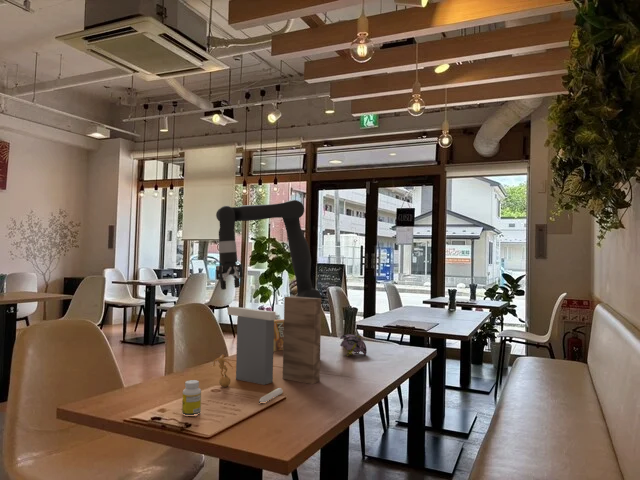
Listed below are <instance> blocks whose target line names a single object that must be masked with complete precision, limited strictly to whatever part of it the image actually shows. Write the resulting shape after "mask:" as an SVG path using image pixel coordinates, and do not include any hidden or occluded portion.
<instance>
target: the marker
mask: <svg viewBox="0 0 640 480" xmlns="http://www.w3.org/2000/svg"><path fill="white" fill-rule="evenodd" d="M282 393H284V390H283V389H282V387H278V388H276V389H274V390H272V391H271V392H269V393H266V394H265V395H263V396H261V397H260V398H259V400H258V403H260V402H266V401H268V400H270V399H272V398H273V397H275V398H277V397H278V395H279V396H280V395H281V394H282ZM276 396H277V397H276ZM273 399H274V398H273ZM273 399H272V400H273ZM270 401H271V400H270ZM268 402H269V401H268Z"/></svg>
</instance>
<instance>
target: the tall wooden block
mask: <svg viewBox="0 0 640 480" xmlns="http://www.w3.org/2000/svg"><path fill="white" fill-rule="evenodd" d="M321 300H322V297H321V298H309V297H298V296H295V295H291V296H284V303H283V304H284V306H283V312H284V313H283V319H284V341H283V350H282V379H283V380H287V381H288V380H289V381H294V382H300V383H305V384H309V385H311V384H312V385H314V384H317V383H319V382H320V380H321V379H320V378H321V376H320V371H321V339H322V338H321V336H322V335H321V333H322V332H321V331H322V329H321V328H322V327H321V326H322V325H321V324H322V301H321ZM316 382H317V383H316Z"/></svg>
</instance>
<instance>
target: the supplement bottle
mask: <svg viewBox="0 0 640 480" xmlns="http://www.w3.org/2000/svg"><path fill="white" fill-rule="evenodd" d="M199 382H200V381H199V380H196V379H193V380H191V379H190V380H186V381H185V382H184V385H185V386H184V387H185V388H184V389H183V390H182V403H181V404H182V405H181V406H182V407H181V408H182V409H181V411H182V412H181V413H183V414H185V415H194V414H198V413H200V412H201V413H202V411H201V410H202V389H201V388H200V383H199ZM201 413H200V414H201Z"/></svg>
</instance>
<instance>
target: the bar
mask: <svg viewBox="0 0 640 480" xmlns="http://www.w3.org/2000/svg"><path fill="white" fill-rule="evenodd" d="M227 315H228V316H236V317H249V318H256V319H263V320H276V315H277V314H276V311H271V310H264V309H255V308H249V307H248V308H247V307H240V306H227Z"/></svg>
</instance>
